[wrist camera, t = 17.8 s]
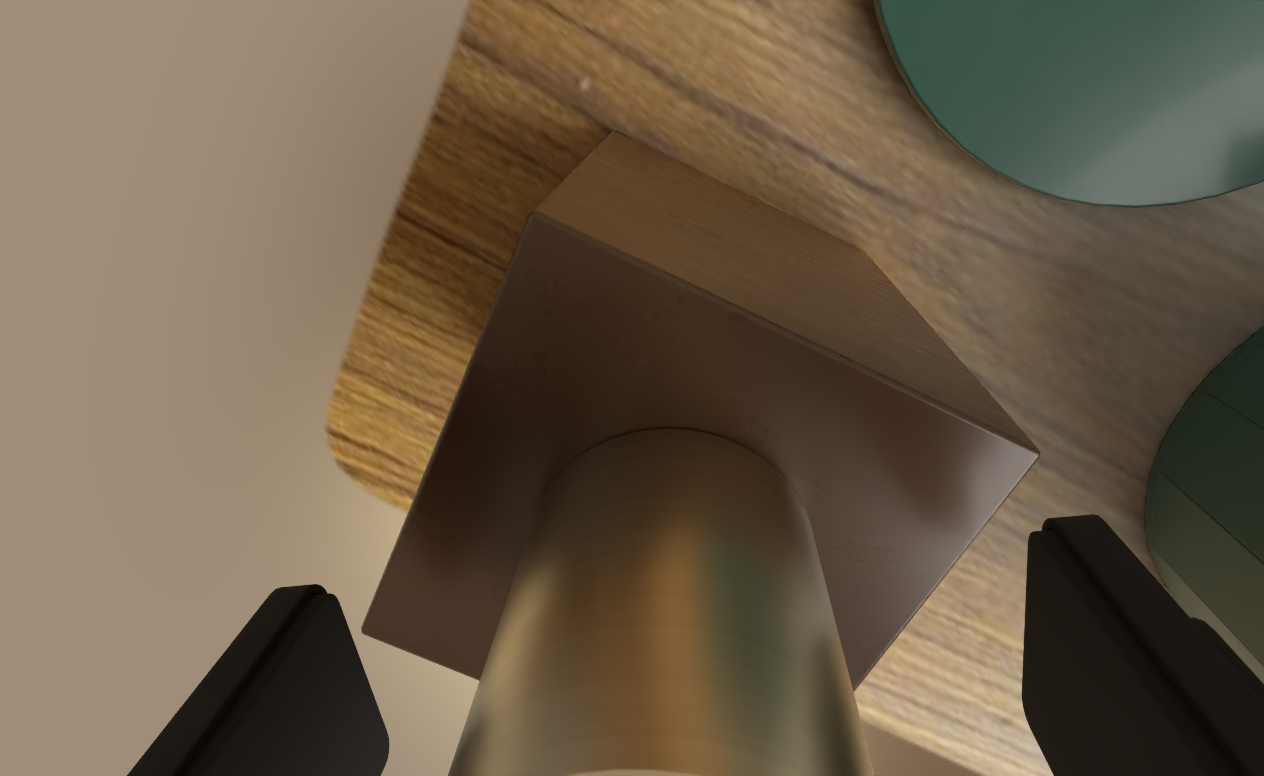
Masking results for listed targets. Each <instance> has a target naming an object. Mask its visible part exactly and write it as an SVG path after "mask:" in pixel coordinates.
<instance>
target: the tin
mask: <svg viewBox="0 0 1264 776" xmlns="http://www.w3.org/2000/svg"><path fill="white" fill-rule="evenodd" d="M448 776H875V774H874V770H873V767H872V763H871V759H870V755H869V751H868V747H867V743H866V740H865V735H864V731H863V727H862V724H861V720H860V716H859V712H858V708H857V704H856V700H855V696H854V692H853V688H852V684H851V681H850V677H849V673H848V669H847V665H846V661H845V657H844V653H843V649H842V645H841V641H840V638H839V634H838V630H837V626H836V622H835V618H834V614H833V610H832V606H831V602H830V598H829V595H828V591H827V587H826V583H825V579H824V575H823V571H822V567H821V563H820V559H819V556H818V552H817V548H816V544H815V540H814V536H813V532H812V528H811V525H810V522H809V519H808V516H807V513H806V510H805V508H804V506H803V504H802V502H801V500H800V498H799V496H798V495H797V493H796V492H795V491H794V489H793V488H792V486H791V485H790V484H789V482H788V481H787V480H786V479H785V478H784V477H783V476H782V475H781V474H780V473H779V472H778V471H777V469H775V468H774V467H773V466H772V465H771V464H769V463H768V462H767V461H766V460H764V459H763V458H762V457H760V456H759V455H757V454H755V453H754V452H752V451H750V450H749V449H747V448H745V447H743V446H741V445H739V444H737V443H734V442H732V441H730V440H728V439H725V438H722V437H719V436H715V435H712V434H709V433H704V432H698V431H693V430H685V429H651V430H645V431H639V432H633V433H629V434H626V435H622V436H619V437H616V438H613V439H610V440H608V441H606V442H604V443H601V444H599V445H597V446H595V447H593V448H591V449H590V450H588V451H586V452H585V453H583V454H582V455H580V456H578V457H577V458H576V459H575V460H574V461H572V462H571V463H570V464H569V465H567V466H566V467H565V468H564V469H563V470H562V471H561V472H560V474H559V475H558V476H557V477H556V478H555V479H554V480H553V482H552V483H551V485H550V486H549V488H548V489H547V490H546V492H545V493H544V496H543V498H542V500H541V502H540V504H539V506H538V508H537V511H536V514H535V517H534V520H533V523H532V526H531V529H530V532H529V535H528V538H527V541H526V544H525V547H524V550H523V553H522V556H521V559H520V562H519V565H518V568H517V571H516V574H515V577H514V580H513V583H512V586H511V589H510V592H509V595H508V598H507V601H506V604H505V607H504V610H503V613H502V616H501V619H500V622H499V625H498V628H497V631H496V634H495V637H494V640H493V643H492V646H491V649H490V652H489V655H488V658H487V661H486V663H485V666H484V669H483V672H482V675H481V678H480V682H479V684H478V687H477V691H476V693H475V697H474V699H473V702H472V705H471V708H470V712H469V714H468V717H467V720H466V723H465V726H464V729H463V732H462V735H461V738H460V741H459V744H458V747H457V750H456V753H455V757H454V759H453V762H452V765H451V768H450V771H449V774H448Z"/></svg>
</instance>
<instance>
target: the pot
mask: <svg viewBox="0 0 1264 776" xmlns="http://www.w3.org/2000/svg"><path fill="white" fill-rule="evenodd" d="M1145 526H1146V533H1147V540H1148V546H1149V549H1150V552H1151V555H1152V558H1153V561H1154V564H1155V567H1156V569H1157V571H1158V573H1159V574H1160V576H1161V578H1162V580H1163V582H1164V583H1165V585H1166V587H1167V588H1168V589H1169V590H1170V592H1171V594H1172V596H1173V598H1174V600H1175V601H1176V602H1177V604H1178V605H1179V606H1180V607H1181V608H1182V609H1183V610H1184V612H1185V613H1186V614H1187V615H1188V616H1189V617H1190V618H1192V617H1195V618H1197V619H1200V620H1203V621H1205V622H1206V623H1207V624H1208V625H1209V626H1211V627H1212V628H1213V629H1214V630H1215V631H1216V632H1217V633H1218V634H1219V635H1220V636H1221V637H1222V638H1223V640H1224V641H1225V642H1226V643H1227V644H1228V645H1229V646H1230V647H1231V648H1232V650H1233V651H1234V652H1235V653H1236V654H1237V655H1238V656H1239V657H1240V658H1241V659H1242V661H1243V662H1244V663H1245V664H1246V665H1247V666H1248V667H1249V668H1250V669H1251V671H1252V672H1253V673H1254V674H1255V675H1256V676H1257V677H1258V678H1259V679H1260V680H1261V682H1262V683H1263V684H1264V328H1262V329H1261V330H1260V331H1259V332H1257V333H1256V334H1255V335H1253V336H1252V337H1251V338H1250V339H1248V340H1247V341H1246V342H1245V343H1243V344H1242V345H1241V346H1239V347H1238V348H1237V349H1236V350H1234V351H1233V352H1232V353H1231V354H1230V355H1229V356H1228V357H1227V358H1226V359H1225V360H1224V361H1223V362H1222V363H1221V364H1220V365H1219V366H1218V367H1217V368H1216V369H1215V370H1213V371H1212V372H1211V373H1210V374H1209V376H1208V377H1207V378H1206V379H1205V380H1204V381H1203V383H1202V384H1201V385H1200V386H1199V387H1198V389H1197V390H1196V391H1195V392H1194V393H1193V394H1192V396H1191V397H1190V398H1189V399H1188V401H1187V402H1186V404H1185V405H1184V407H1183V408H1182V410H1181V411H1180V413H1179V414H1178V416H1177V417H1176V419H1175V420H1174V422H1173V423H1172V425H1171V427H1170V429H1169V431H1168V433H1167V435H1166V437H1165V439H1164V441H1163V443H1162V445H1161V447H1160V449H1159V451H1158V454H1157V457H1156V460H1155V463H1154V466H1153V469H1152V472H1151V474H1150V479H1149V485H1148V490H1147V495H1146V508H1145Z"/></svg>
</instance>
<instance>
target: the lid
mask: <svg viewBox="0 0 1264 776" xmlns="http://www.w3.org/2000/svg"><path fill="white" fill-rule="evenodd" d="M873 3H874V7H875V11H876V16H877V20H878V23H879V26H880V29H881V31H882V34H883V37H884V39H885V42H886V45H887V47H888V50H889V53H890V55H891V58H892V60H893V62H894V64H895V66H896V68H897V69H898V71H899V73H900V75H901V77H902V79H903V80H904V82H905V84H906V86H907V88H908V90H909V92H910V93H911V95H912V96H913V97H914V99H915V100H916V101H917V103H918V104H919V105H920V107H921V108H922V109H923V111H924V112H925V113H926V115H927V116H928V117H929V119H930V120H931V121H932V123H933V124H935V125H936V126H937V127H938V128H939V129H940V130H941V131H942V132H943V133H944V134H945V135H946V136H947V137H948V138H949V139H950V140H951V141H952V142H953V143H954V144H955V145H956V146H957V147H958V148H959V149H961V150H962V151H963V152H965V153H966V154H968V155H969V156H970V157H972V158H973V159H975V160H976V161H977V162H979V163H980V164H982V165H983V166H984V167H986V168H987V169H989V170H991V171H993V172H995V173H997V174H999V175H1001V176H1003V177H1005V178H1007V179H1009V180H1011V181H1013V182H1015V183H1016V184H1018V185H1021V186H1023V187H1026V188H1029V189H1032V190H1035V191H1038V192H1041V193H1044V194H1047V195H1050V196H1053V197H1056V198H1059V199H1063V200H1068V201H1074V202H1079V203H1085V204H1090V205H1095V206H1112V207H1133V208H1137V207H1150V206H1163V205H1175V204H1180V203H1186V202H1191V201H1196V200H1201V199H1206V198H1211V197H1216V196H1219V195H1222V194H1225V193H1229V192H1232V191H1235V190H1238V189H1241V188H1244V187H1248V186H1251V185H1254V184H1257V183H1260V182H1262V181H1264V0H873Z"/></svg>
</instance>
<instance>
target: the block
mask: <svg viewBox="0 0 1264 776" xmlns="http://www.w3.org/2000/svg"><path fill="white" fill-rule="evenodd" d="M651 429H685V430H693V431H698V432H704V433H709V434H712V435H715V436H719V437H722V438H725V439H728V440H730V441H732V442H734V443H737V444H739V445H741V446H743V447H745V448H747V449H749V450H750V451H752V452H754V453H755V454H757V455H759V456H760V457H762V458H763V459H764V460H766V461H767V462H768V463H769V464H771V465H772V466H773V467H774V468H775V469H777V471H778V472H779V473H780V474H781V475H782V476H783V477H784V478H785V479H786V480H787V481H788V482H789V484H790V485H791V486H792V488H793V489H794V491H795V492H796V493H797V495H798V496H799V498H800V500H801V502H802V504H803V506H804V508H805V510H806V513H807V516H808V519H809V522H810V525H811V528H812V532H813V536H814V540H815V544H816V548H817V552H818V556H819V559H820V563H821V567H822V571H823V575H824V579H825V583H826V587H827V591H828V595H829V598H830V602H831V606H832V610H833V614H834V618H835V622H836V626H837V630H838V634H839V638H840V641H841V645H842V649H843V653H844V657H845V661H846V665H847V669H848V673H849V677H850V681H851V684H852V688H853V692H854V691H855V690H856V688H857V687H858V686H859V685H860V683H861V682H862V681H863V680H864V678H865V677H866V676H867V675H868V673H869V672H870V671H871V669H872V668H873V667H874V666H875V664H876V663H877V662H878V661H879V659H880V658H881V657H882V656H883V654H884V653H885V652H886V650H887V649H888V648H889V647H890V645H891V644H892V643H893V642H894V640H895V639H896V638H897V637H898V635H899V634H900V633H901V631H902V630H903V629H904V628H905V626H906V625H907V624H908V623H909V621H910V620H911V619H912V618H913V616H914V615H915V614H916V612H917V611H918V610H919V609H920V607H921V606H922V605H923V604H924V602H925V601H926V600H927V599H928V597H929V596H930V595H931V593H932V592H933V591H934V590H935V588H936V587H937V586H938V585H939V583H940V582H941V581H942V580H943V578H944V577H945V576H946V574H947V573H948V572H949V571H950V569H951V568H952V567H953V566H954V564H955V563H956V562H957V561H958V559H959V558H960V557H961V555H962V554H963V553H964V552H965V550H966V549H967V548H968V547H969V545H970V544H971V543H972V542H973V540H974V539H975V538H976V536H977V535H978V534H979V533H980V531H981V530H982V529H983V528H984V526H985V525H986V524H987V523H988V521H989V520H990V519H991V517H992V516H993V515H994V514H995V512H996V511H997V510H998V509H999V507H1000V506H1001V505H1002V504H1003V502H1004V501H1005V500H1006V499H1007V497H1008V496H1009V495H1010V493H1011V492H1012V491H1013V490H1014V488H1015V487H1016V486H1017V485H1018V483H1019V482H1020V481H1021V480H1022V478H1023V477H1024V476H1025V474H1026V473H1027V472H1028V471H1029V469H1030V468H1031V467H1032V466H1033V464H1034V463H1035V462H1036V461H1037V459H1038V458H1039V456H1040V450H1039V449H1038V448H1037V447H1036V446H1035V445H1034V443H1033V442H1032V441H1031V440H1030V439H1029V438H1028V437H1027V435H1026V434H1025V433H1024V432H1023V431H1022V430H1021V429H1020V428H1019V426H1018V425H1017V424H1016V423H1015V422H1014V421H1013V420H1012V418H1011V417H1010V416H1009V415H1008V414H1007V413H1006V412H1005V410H1004V409H1003V408H1002V407H1001V406H1000V405H999V404H998V403H997V401H996V400H995V399H994V398H993V397H992V396H991V395H990V393H989V392H988V391H987V390H986V389H985V388H984V387H983V385H982V384H981V383H980V382H979V381H978V380H977V379H976V378H975V376H974V375H973V374H972V373H971V372H970V371H969V370H968V368H967V367H966V366H965V365H964V364H963V363H962V362H961V360H960V359H959V358H958V357H957V356H956V355H955V354H954V353H953V351H952V350H951V349H950V348H949V347H948V346H947V345H946V343H945V342H944V341H943V340H942V339H941V338H940V337H939V335H938V334H937V333H936V332H935V331H934V330H933V329H932V328H931V326H930V325H929V324H928V323H927V322H926V321H925V320H924V318H923V317H922V316H921V315H920V314H919V313H918V312H917V310H916V309H915V308H914V307H913V306H912V305H911V304H910V303H909V301H908V300H907V299H906V298H905V297H904V296H903V295H902V293H901V292H900V291H899V290H898V289H897V288H896V287H895V285H894V284H893V283H892V282H891V281H890V280H889V279H888V278H887V276H886V275H885V274H884V273H883V272H882V271H881V270H880V268H879V267H878V266H877V265H876V264H875V263H874V262H873V261H872V259H871V258H870V257H869V256H868V255H867V254H866V253H864V252H862V251H860V250H858V249H856V248H854V247H852V246H850V245H848V244H846V243H844V242H842V241H840V240H838V239H836V238H834V237H832V236H830V235H828V234H826V233H824V232H822V231H820V230H817V229H815V228H813V227H811V226H809V225H807V224H805V223H803V222H801V221H799V220H797V219H795V218H793V217H791V216H789V215H787V214H785V213H783V212H781V211H779V210H777V209H775V208H773V207H771V206H769V205H767V204H765V203H763V202H761V201H759V200H757V199H755V198H753V197H751V196H749V195H747V194H745V193H742V192H740V191H738V190H736V189H734V188H732V187H730V186H728V185H726V184H724V183H722V182H720V181H718V180H716V179H714V178H712V177H710V176H708V175H706V174H704V173H702V172H700V171H698V170H696V169H694V168H692V167H690V166H688V165H686V164H684V163H682V162H680V161H678V160H676V159H674V158H672V157H670V156H667V155H665V154H663V153H661V152H659V151H657V150H655V149H653V148H651V147H649V146H647V145H645V144H643V143H641V142H639V141H637V140H635V139H633V138H631V137H629V136H627V135H625V134H623V133H621V132H619V131H617V130H613V131H612V132H611V133H610V134H609V135H608V136H607V137H606V138H605V139H604V140H603V141H602V142H601V143H600V144H599V145H598V146H597V147H596V148H595V149H594V150H593V151H592V152H591V153H590V154H589V155H588V156H587V157H586V158H585V159H584V160H583V161H582V162H581V163H580V164H579V165H578V166H577V167H576V168H575V169H574V170H573V171H572V172H571V173H570V174H569V175H568V176H567V177H566V178H565V179H564V180H563V181H562V182H561V183H560V184H559V185H558V186H557V187H556V188H555V189H554V190H553V191H552V192H551V193H550V194H549V195H548V196H547V197H546V198H545V199H544V200H543V201H542V202H541V203H540V204H539V205H538V206H537V207H536V208H535V209H534V210H533V211H532V212H531V213H530V214H529V217H528V219H527V221H526V224H525V226H524V229H523V231H522V234H521V236H520V239H519V241H518V244H517V246H516V249H515V251H514V253H513V256H512V258H511V261H510V263H509V266H508V268H507V271H506V273H505V276H504V278H503V280H502V283H501V285H500V288H499V290H498V293H497V295H496V298H495V300H494V303H493V305H492V308H491V310H490V312H489V315H488V317H487V320H486V322H485V325H484V327H483V330H482V332H481V335H480V337H479V339H478V342H477V344H476V347H475V349H474V352H473V354H472V357H471V359H470V362H469V364H468V367H467V369H466V371H465V374H464V376H463V379H462V381H461V384H460V386H459V389H458V391H457V394H456V396H455V398H454V401H453V403H452V406H451V408H450V411H449V413H448V416H447V418H446V421H445V423H444V426H443V428H442V430H441V433H440V435H439V438H438V440H437V443H436V445H435V448H434V450H433V453H432V455H431V457H430V460H429V462H428V465H427V467H426V470H425V472H424V475H423V477H422V480H421V482H420V485H419V487H418V489H417V492H416V494H415V497H414V499H413V502H412V504H411V507H410V509H409V512H408V514H407V516H406V519H405V522H404V524H403V526H402V529H401V531H400V534H399V536H398V539H397V541H396V544H395V546H394V549H393V551H392V553H391V556H390V558H389V561H388V563H387V566H386V568H385V571H384V573H383V575H382V578H381V581H380V583H379V585H378V588H377V590H376V593H375V595H374V598H373V600H372V603H371V605H370V607H369V610H368V612H367V615H366V617H365V620H364V622H363V625H362V627H361V628H362V633H363V634H365V635H367V636H369V637H372V638H374V639H377V640H379V641H382V642H384V643H387V644H389V645H392V646H394V647H397V648H399V649H402V650H404V651H407V652H409V653H412V654H414V655H417V656H419V657H422V658H424V659H427V660H429V661H432V662H434V663H437V664H439V665H442V666H444V667H447V668H449V669H452V670H454V671H457V672H460V673H462V674H464V675H467V676H469V677H472V678H474V679H477V680H479V681H480V678H481V675H482V672H483V669H484V666H485V663H486V661H487V658H488V655H489V652H490V649H491V646H492V643H493V640H494V637H495V634H496V631H497V628H498V625H499V622H500V619H501V616H502V613H503V610H504V607H505V604H506V601H507V598H508V595H509V592H510V589H511V586H512V583H513V580H514V577H515V574H516V571H517V568H518V565H519V562H520V559H521V556H522V553H523V550H524V547H525V544H526V541H527V538H528V535H529V532H530V529H531V526H532V523H533V520H534V517H535V514H536V511H537V508H538V506H539V504H540V502H541V500H542V498H543V496H544V493H545V492H546V490H547V489H548V488H549V486H550V485H551V483H552V482H553V480H554V479H555V478H556V477H557V476H558V475H559V474H560V472H561V471H562V470H563V469H564V468H565V467H566V466H567V465H569V464H570V463H571V462H572V461H574V460H575V459H576V458H577V457H578V456H580V455H582V454H583V453H585V452H586V451H588V450H590V449H591V448H593V447H595V446H597V445H599V444H601V443H604V442H606V441H608V440H610V439H613V438H616V437H619V436H622V435H626V434H629V433H633V432H639V431H645V430H651Z"/></svg>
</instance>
